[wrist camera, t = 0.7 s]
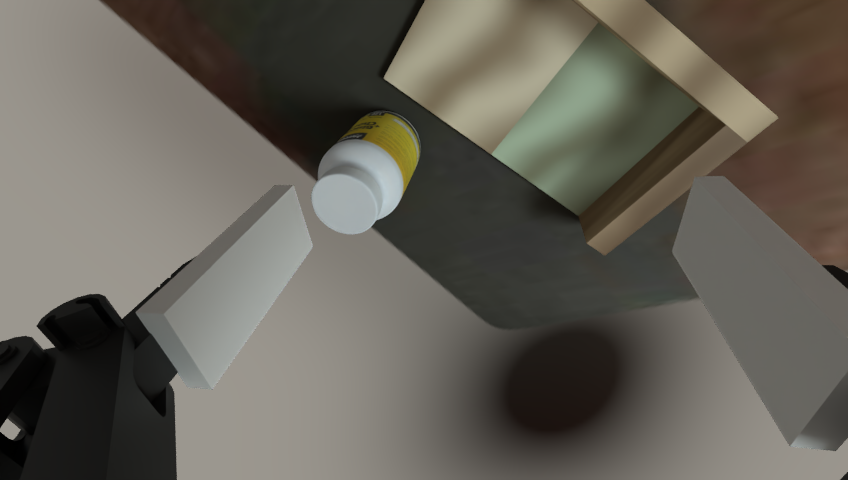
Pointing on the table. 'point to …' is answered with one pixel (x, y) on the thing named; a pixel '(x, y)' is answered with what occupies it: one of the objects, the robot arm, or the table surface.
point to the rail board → (580, 100)
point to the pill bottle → (366, 172)
